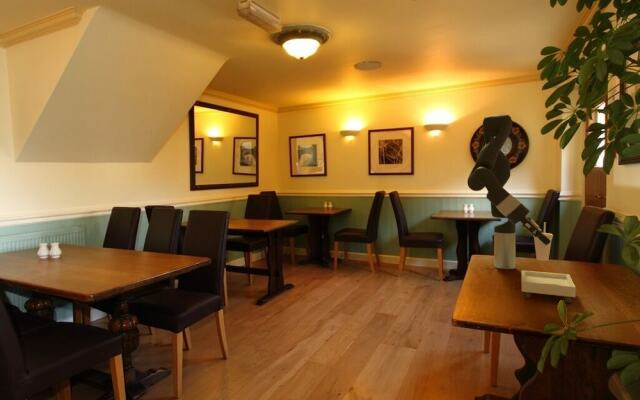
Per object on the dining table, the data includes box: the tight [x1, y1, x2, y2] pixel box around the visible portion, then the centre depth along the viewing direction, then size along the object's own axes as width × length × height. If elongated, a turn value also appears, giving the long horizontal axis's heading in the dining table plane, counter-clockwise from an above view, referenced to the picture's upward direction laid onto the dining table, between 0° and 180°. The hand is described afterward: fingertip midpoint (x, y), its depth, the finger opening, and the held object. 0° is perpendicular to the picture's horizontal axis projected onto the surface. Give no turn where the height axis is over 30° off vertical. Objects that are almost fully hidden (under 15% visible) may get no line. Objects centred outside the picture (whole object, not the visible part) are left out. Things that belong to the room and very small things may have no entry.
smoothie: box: [532, 221, 554, 262], centre depth 137 cm, size 6×6×14 cm
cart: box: [520, 270, 577, 304], centre depth 137 cm, size 18×16×6 cm
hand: (548, 241), depth 136 cm, fingers closed on smoothie, 6 cm apart
